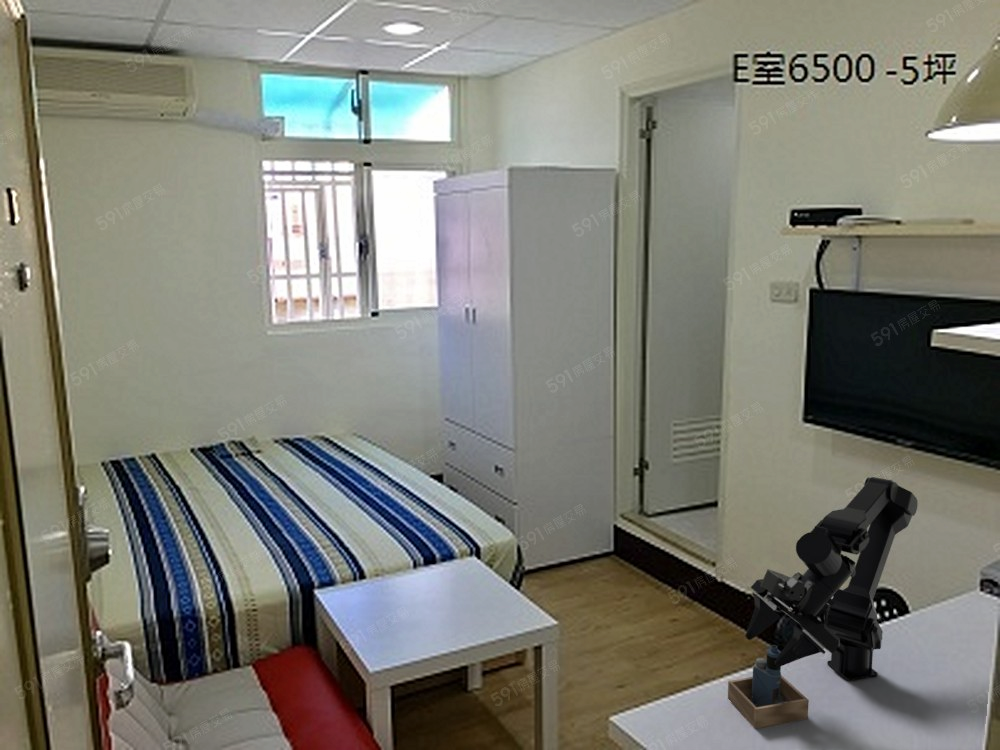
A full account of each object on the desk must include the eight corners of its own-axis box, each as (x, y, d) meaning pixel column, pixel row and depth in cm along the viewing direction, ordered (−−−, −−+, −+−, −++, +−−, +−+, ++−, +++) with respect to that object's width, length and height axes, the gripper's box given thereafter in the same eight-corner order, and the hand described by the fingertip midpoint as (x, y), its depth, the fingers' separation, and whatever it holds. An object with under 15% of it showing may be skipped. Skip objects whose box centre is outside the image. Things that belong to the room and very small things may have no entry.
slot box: (777, 690, 143) (778, 672, 142) (807, 718, 134) (808, 699, 133) (727, 699, 140) (728, 681, 140) (755, 728, 132) (755, 709, 131)
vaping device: (772, 716, 135) (774, 651, 133) (748, 701, 139) (750, 638, 137) (782, 711, 136) (785, 647, 134) (759, 697, 141) (761, 634, 139)
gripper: (761, 536, 142) (705, 601, 142) (826, 577, 124) (762, 652, 124) (798, 571, 145) (743, 635, 145) (867, 617, 127) (804, 690, 127)
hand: (761, 651), depth 135 cm, fingers open, 9 cm apart
